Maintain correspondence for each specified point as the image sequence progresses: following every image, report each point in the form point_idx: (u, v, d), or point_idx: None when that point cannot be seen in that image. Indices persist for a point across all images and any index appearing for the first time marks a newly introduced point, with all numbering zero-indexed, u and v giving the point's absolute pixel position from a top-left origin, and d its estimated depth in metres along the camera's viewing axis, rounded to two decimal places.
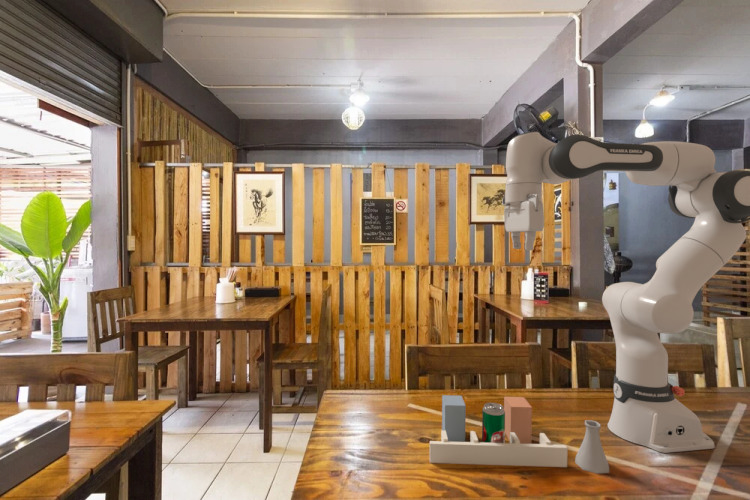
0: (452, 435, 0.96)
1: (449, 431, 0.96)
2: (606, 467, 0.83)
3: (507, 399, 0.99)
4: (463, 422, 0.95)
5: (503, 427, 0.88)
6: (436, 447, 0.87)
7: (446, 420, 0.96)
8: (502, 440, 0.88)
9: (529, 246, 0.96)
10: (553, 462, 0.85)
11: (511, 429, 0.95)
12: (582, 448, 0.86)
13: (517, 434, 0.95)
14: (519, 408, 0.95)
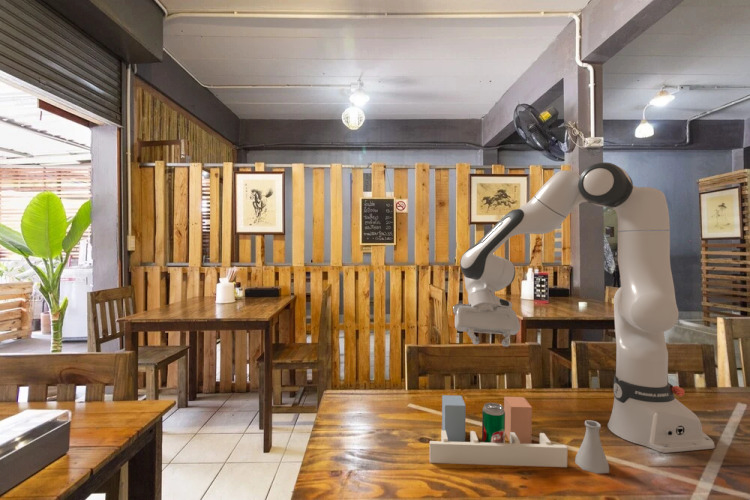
0: (452, 435, 0.96)
1: (449, 431, 0.96)
2: (606, 467, 0.83)
3: (507, 399, 0.99)
4: (463, 422, 0.95)
5: (503, 427, 0.88)
6: (436, 447, 0.87)
7: (446, 420, 0.96)
8: (502, 440, 0.88)
9: (473, 340, 1.17)
10: (553, 462, 0.85)
11: (511, 429, 0.95)
12: (582, 448, 0.86)
13: (517, 434, 0.95)
14: (519, 408, 0.95)
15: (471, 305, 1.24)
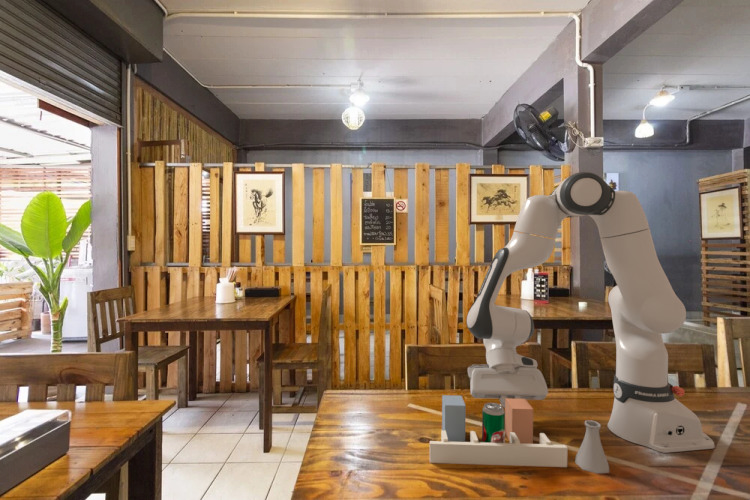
0: (452, 435, 0.96)
1: (449, 431, 0.96)
2: (606, 467, 0.83)
3: (508, 401, 0.98)
4: (463, 422, 0.95)
5: (503, 427, 0.88)
6: (436, 447, 0.87)
7: (446, 420, 0.96)
8: (502, 440, 0.88)
9: None
10: (553, 462, 0.85)
11: (512, 431, 0.94)
12: (582, 448, 0.86)
13: (518, 436, 0.94)
14: (520, 410, 0.94)
15: (489, 366, 1.10)
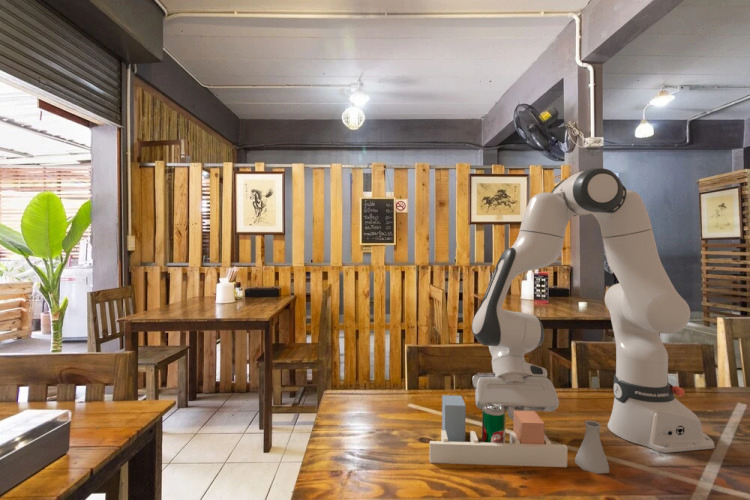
0: (452, 435, 0.96)
1: (449, 431, 0.96)
2: (606, 467, 0.83)
3: (517, 413, 0.91)
4: (463, 422, 0.95)
5: (503, 427, 0.88)
6: (436, 447, 0.87)
7: (446, 420, 0.96)
8: (502, 440, 0.88)
9: None
10: (553, 462, 0.85)
11: None
12: (582, 448, 0.86)
13: None
14: (531, 424, 0.87)
15: (495, 375, 1.03)
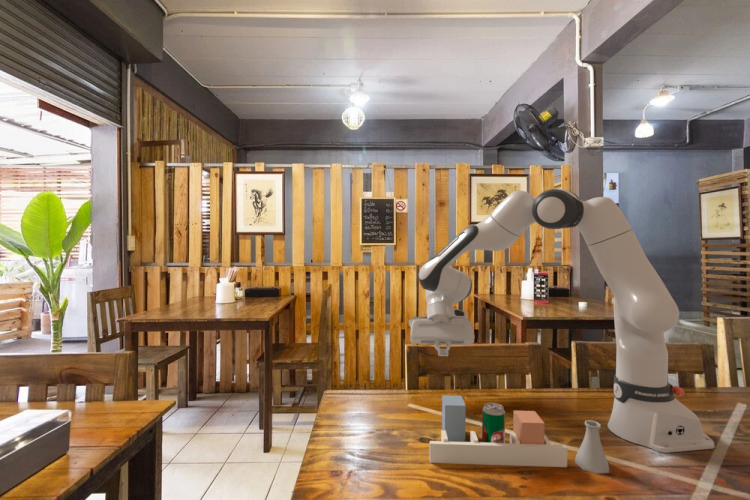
0: (452, 435, 0.96)
1: (449, 431, 0.96)
2: (606, 467, 0.83)
3: (517, 413, 0.91)
4: (463, 422, 0.95)
5: (503, 427, 0.88)
6: (436, 447, 0.87)
7: (446, 420, 0.96)
8: (502, 440, 0.88)
9: (438, 352, 1.20)
10: (553, 462, 0.85)
11: None
12: (582, 448, 0.86)
13: None
14: (530, 424, 0.87)
15: (427, 317, 1.28)
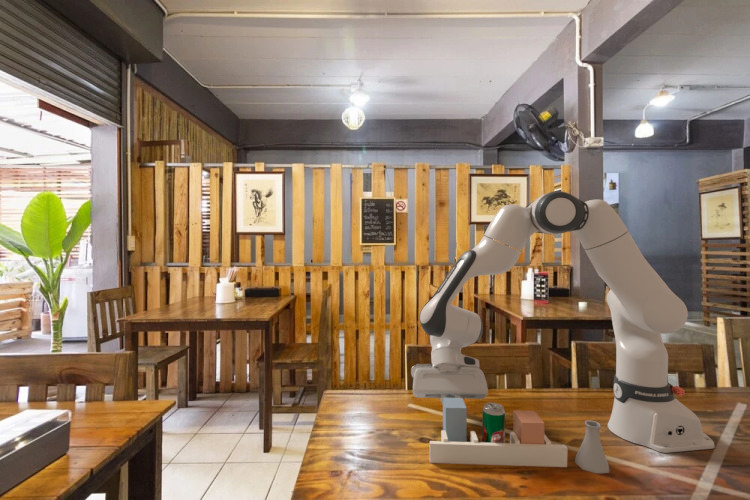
0: (453, 438, 0.94)
1: (450, 434, 0.94)
2: (606, 467, 0.83)
3: (517, 413, 0.91)
4: (464, 425, 0.94)
5: (503, 427, 0.88)
6: (436, 447, 0.87)
7: (447, 423, 0.94)
8: (502, 440, 0.88)
9: None
10: (553, 462, 0.85)
11: None
12: (582, 448, 0.86)
13: None
14: (530, 424, 0.87)
15: (432, 365, 1.10)
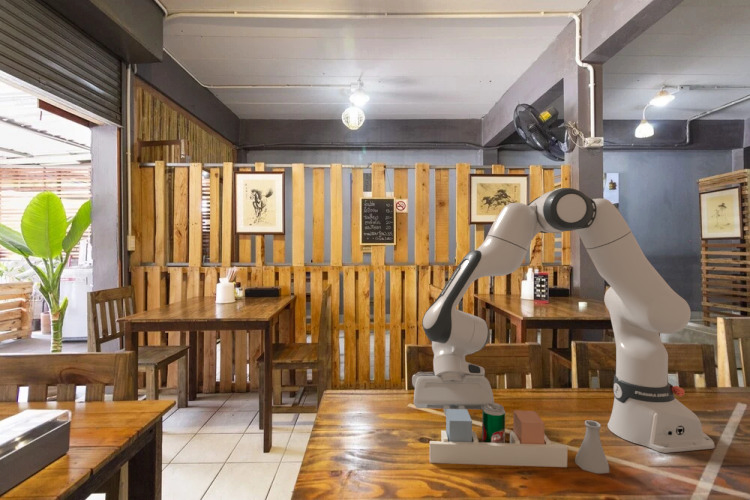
0: None
1: None
2: (606, 467, 0.83)
3: (517, 413, 0.91)
4: (469, 439, 0.87)
5: (503, 427, 0.88)
6: (436, 447, 0.87)
7: (451, 437, 0.88)
8: (502, 440, 0.88)
9: None
10: (553, 462, 0.85)
11: None
12: (582, 448, 0.86)
13: None
14: (530, 424, 0.87)
15: (434, 373, 1.04)
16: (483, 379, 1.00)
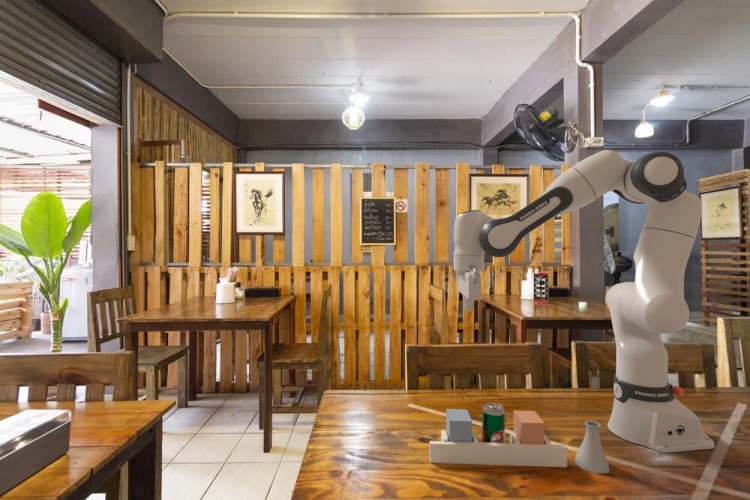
0: None
1: None
2: (606, 467, 0.83)
3: (517, 413, 0.91)
4: (469, 439, 0.87)
5: (503, 427, 0.88)
6: (436, 447, 0.87)
7: (451, 437, 0.88)
8: (502, 440, 0.88)
9: (468, 308, 1.15)
10: (553, 462, 0.85)
11: None
12: (582, 448, 0.86)
13: None
14: (530, 424, 0.87)
15: None
16: None
